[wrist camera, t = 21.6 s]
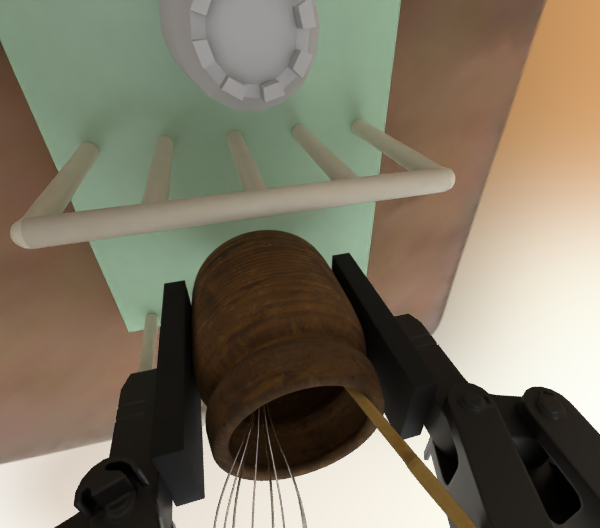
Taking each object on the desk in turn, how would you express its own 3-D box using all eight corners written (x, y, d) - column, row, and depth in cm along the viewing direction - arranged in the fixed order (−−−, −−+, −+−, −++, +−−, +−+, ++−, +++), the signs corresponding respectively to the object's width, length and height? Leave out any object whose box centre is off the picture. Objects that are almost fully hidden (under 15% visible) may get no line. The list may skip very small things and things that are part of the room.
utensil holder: (157, 277, 14) (89, 867, 4) (292, 190, 13) (570, 652, 4) (243, 350, 17) (310, 753, 8) (351, 284, 17) (567, 638, 7)
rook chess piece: (237, 113, 15) (275, 182, 9) (136, 34, 13) (87, 53, 6) (301, 17, 14) (401, 17, 7) (201, -92, 11) (222, -230, 5)
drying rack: (-96, -211, 9) (-799, -783, 3) (408, -162, 12) (666, -369, 6) (130, 320, 21) (105, 459, 14) (359, 278, 24) (425, 376, 17)
